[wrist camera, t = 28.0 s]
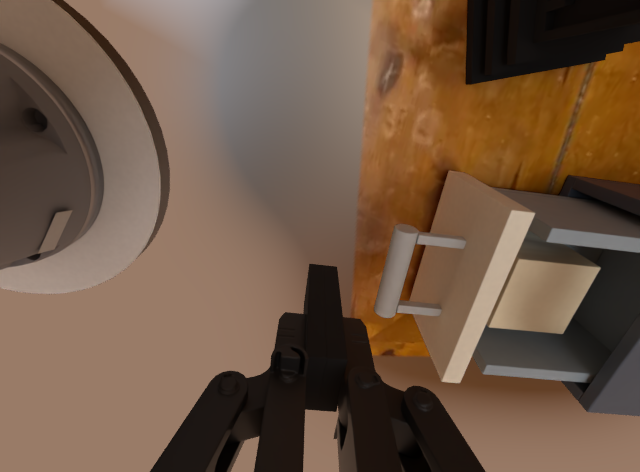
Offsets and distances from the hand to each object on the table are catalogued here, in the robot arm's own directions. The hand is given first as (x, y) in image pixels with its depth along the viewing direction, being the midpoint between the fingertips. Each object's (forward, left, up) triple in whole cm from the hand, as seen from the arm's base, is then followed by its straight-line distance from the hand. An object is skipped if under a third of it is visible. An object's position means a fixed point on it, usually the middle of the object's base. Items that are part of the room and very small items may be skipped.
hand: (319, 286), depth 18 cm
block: (+13, +4, -6) cm, 15 cm away
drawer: (+12, +4, -7) cm, 15 cm away
